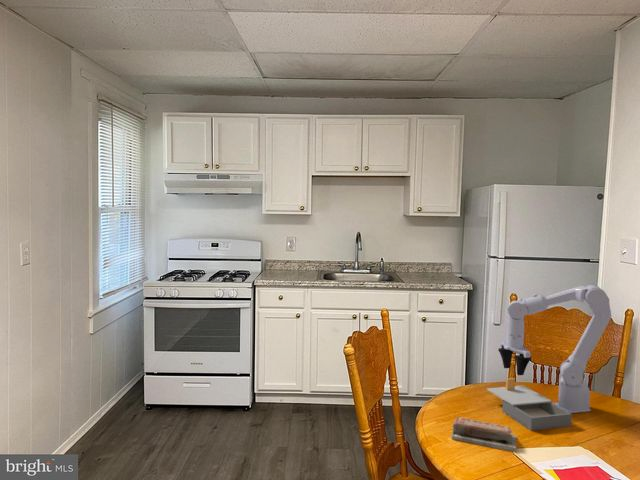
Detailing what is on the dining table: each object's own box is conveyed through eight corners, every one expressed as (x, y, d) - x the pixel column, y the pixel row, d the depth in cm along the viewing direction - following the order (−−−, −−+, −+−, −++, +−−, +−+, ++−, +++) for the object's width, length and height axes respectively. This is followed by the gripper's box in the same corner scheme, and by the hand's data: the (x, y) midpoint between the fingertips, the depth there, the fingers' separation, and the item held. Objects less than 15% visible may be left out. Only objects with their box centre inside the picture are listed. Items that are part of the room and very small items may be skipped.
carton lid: (523, 386, 173) (523, 374, 173) (551, 402, 159) (552, 389, 159) (486, 389, 169) (487, 377, 169) (512, 405, 155) (513, 392, 155)
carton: (539, 408, 164) (540, 396, 164) (571, 426, 151) (571, 414, 150) (502, 411, 161) (502, 400, 160) (531, 430, 147) (531, 418, 147)
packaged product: (451, 424, 140) (455, 412, 149) (450, 440, 140) (454, 427, 149) (517, 437, 133) (516, 423, 142) (516, 453, 133) (516, 438, 142)
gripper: (493, 330, 176) (491, 365, 177) (518, 340, 162) (517, 378, 163) (509, 329, 178) (508, 364, 179) (536, 339, 164) (534, 377, 165)
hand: (513, 371), depth 171 cm, fingers open, 7 cm apart
